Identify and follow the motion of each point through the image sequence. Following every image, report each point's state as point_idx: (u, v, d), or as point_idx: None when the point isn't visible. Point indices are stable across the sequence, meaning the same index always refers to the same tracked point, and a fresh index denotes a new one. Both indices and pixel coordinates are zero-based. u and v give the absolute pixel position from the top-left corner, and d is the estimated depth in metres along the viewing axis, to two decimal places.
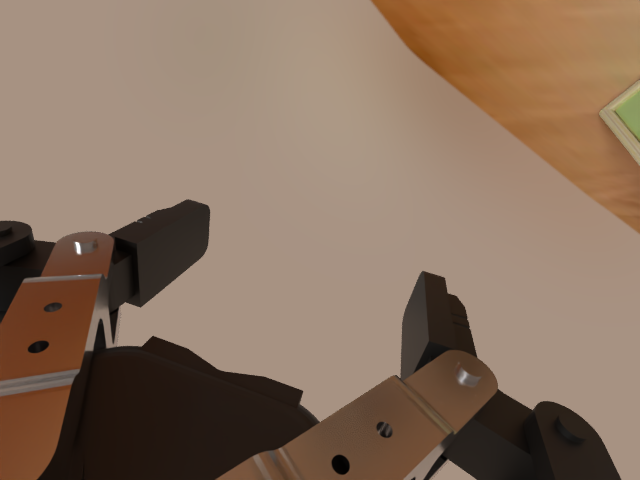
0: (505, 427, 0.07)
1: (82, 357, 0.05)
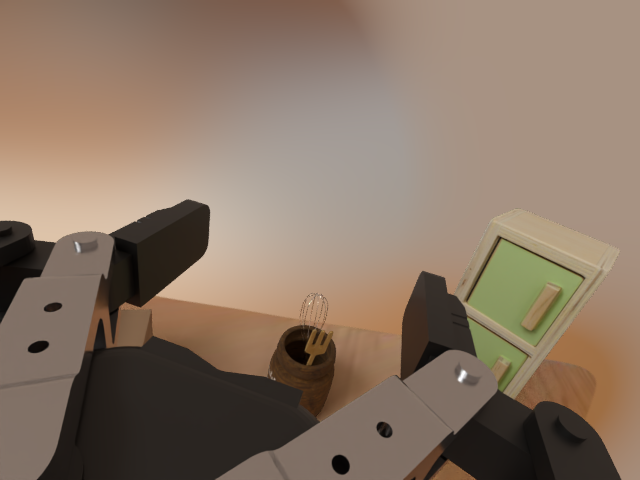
0: (505, 427, 0.07)
1: (82, 357, 0.05)
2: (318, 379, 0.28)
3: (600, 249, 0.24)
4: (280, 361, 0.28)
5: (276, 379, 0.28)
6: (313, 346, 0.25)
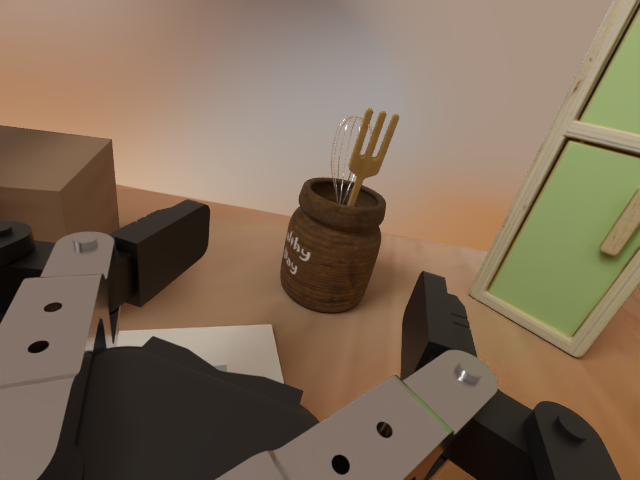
0: (505, 427, 0.07)
1: (82, 357, 0.05)
2: (363, 235, 0.19)
3: None
4: (306, 207, 0.18)
5: (299, 237, 0.19)
6: (362, 156, 0.16)
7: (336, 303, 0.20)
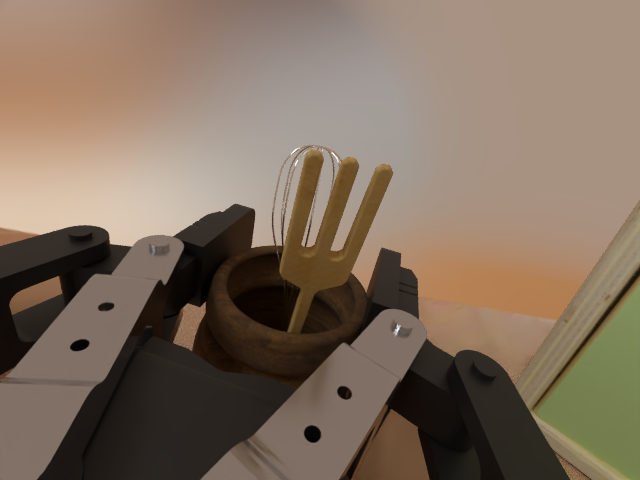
0: (430, 372, 0.07)
1: (112, 364, 0.05)
2: None
3: None
4: (211, 324, 0.09)
5: None
6: (308, 252, 0.07)
7: None
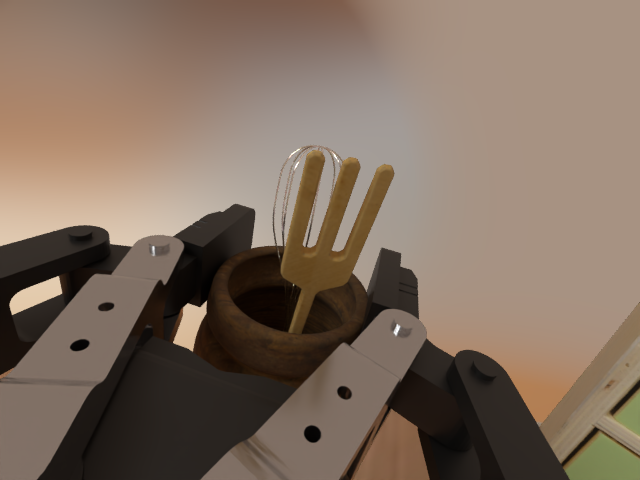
0: (430, 372, 0.07)
1: (112, 364, 0.05)
2: None
3: None
4: (212, 324, 0.09)
5: None
6: (309, 252, 0.07)
7: None
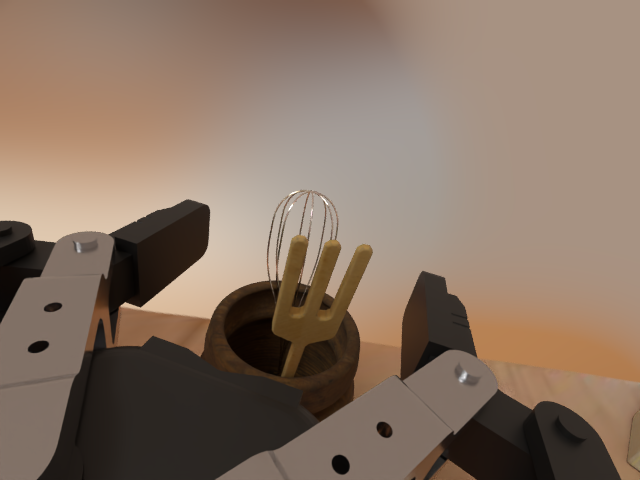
0: (505, 427, 0.07)
1: (82, 357, 0.05)
2: (316, 414, 0.10)
3: None
4: None
5: None
6: (298, 313, 0.07)
7: None
